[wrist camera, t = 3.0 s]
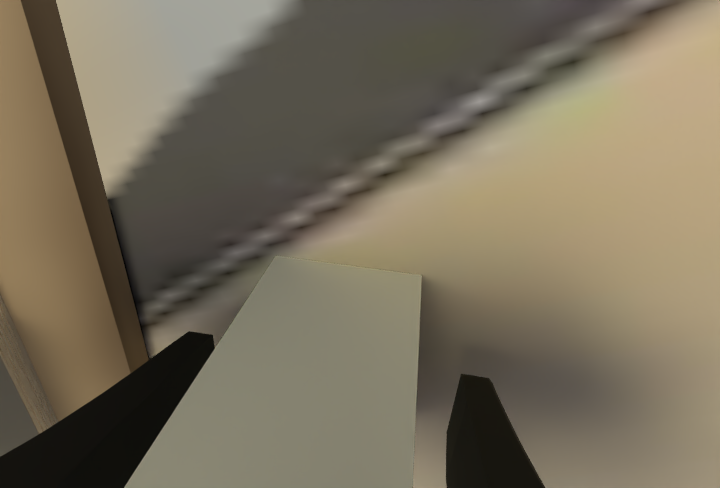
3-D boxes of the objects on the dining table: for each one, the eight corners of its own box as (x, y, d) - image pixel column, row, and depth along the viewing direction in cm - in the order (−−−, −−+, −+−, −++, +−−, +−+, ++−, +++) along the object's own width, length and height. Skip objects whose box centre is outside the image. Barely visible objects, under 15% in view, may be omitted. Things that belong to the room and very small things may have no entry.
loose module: (421, 275, 10) (407, 595, 4) (399, 414, 12) (372, 732, 7) (276, 254, 10) (96, 528, 5) (282, 394, 13) (169, 680, 7)
